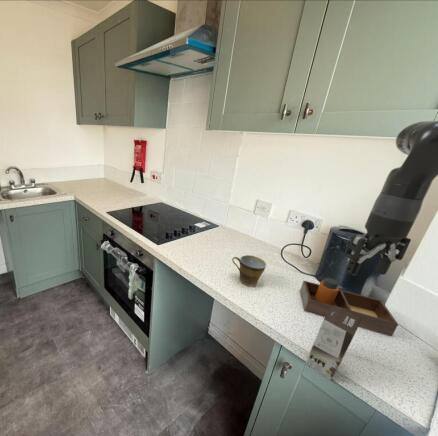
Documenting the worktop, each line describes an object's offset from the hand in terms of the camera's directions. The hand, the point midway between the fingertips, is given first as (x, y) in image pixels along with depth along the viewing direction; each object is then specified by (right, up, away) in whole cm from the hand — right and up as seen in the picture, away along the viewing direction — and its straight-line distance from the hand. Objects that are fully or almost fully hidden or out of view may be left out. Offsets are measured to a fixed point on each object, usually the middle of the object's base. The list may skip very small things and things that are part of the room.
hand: (365, 273), depth 62 cm
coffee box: (-6, -27, +7) cm, 28 cm away
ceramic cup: (-14, -13, +41) cm, 46 cm away
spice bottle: (+9, -18, +28) cm, 34 cm away
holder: (+14, -20, +26) cm, 36 cm away
